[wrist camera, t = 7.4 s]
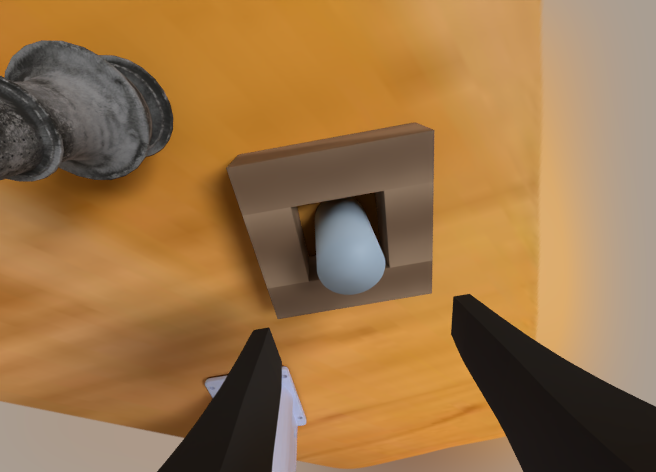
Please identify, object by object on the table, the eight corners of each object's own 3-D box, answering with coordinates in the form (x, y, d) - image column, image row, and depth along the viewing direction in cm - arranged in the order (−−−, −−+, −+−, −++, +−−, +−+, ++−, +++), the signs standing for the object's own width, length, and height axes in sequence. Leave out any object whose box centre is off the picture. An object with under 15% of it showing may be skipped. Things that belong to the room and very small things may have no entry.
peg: (368, 235, 21) (388, 287, 16) (320, 245, 21) (325, 300, 16) (361, 189, 19) (380, 230, 14) (309, 201, 20) (309, 246, 14)
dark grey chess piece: (193, 155, 18) (23, 268, 7) (98, 168, 18) (-211, 300, 7) (153, 40, 15) (-227, -54, 4) (41, 56, 15) (-613, 0, 4)
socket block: (417, 268, 23) (431, 293, 20) (281, 291, 23) (277, 319, 20) (415, 122, 17) (434, 130, 15) (238, 154, 18) (226, 168, 15)
